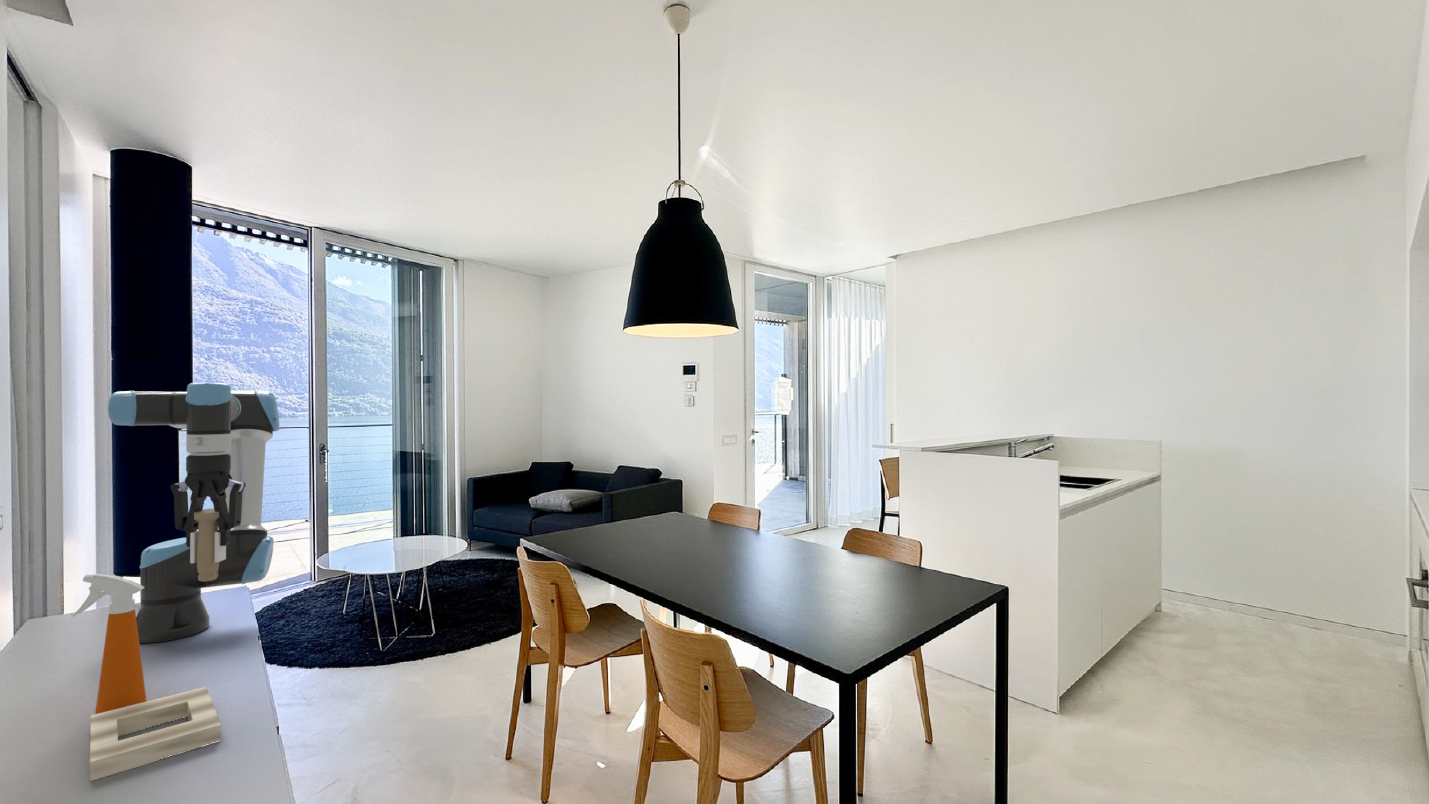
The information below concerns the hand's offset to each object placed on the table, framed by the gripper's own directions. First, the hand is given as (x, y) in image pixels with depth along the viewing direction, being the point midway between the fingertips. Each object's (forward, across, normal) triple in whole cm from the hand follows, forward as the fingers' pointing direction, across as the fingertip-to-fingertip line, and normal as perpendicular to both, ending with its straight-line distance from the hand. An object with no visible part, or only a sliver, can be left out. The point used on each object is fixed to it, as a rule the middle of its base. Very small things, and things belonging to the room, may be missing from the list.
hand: (208, 560), depth 134 cm
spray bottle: (+25, -8, -16) cm, 30 cm away
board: (+24, +7, -27) cm, 37 cm away
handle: (+4, 0, 0) cm, 4 cm away
